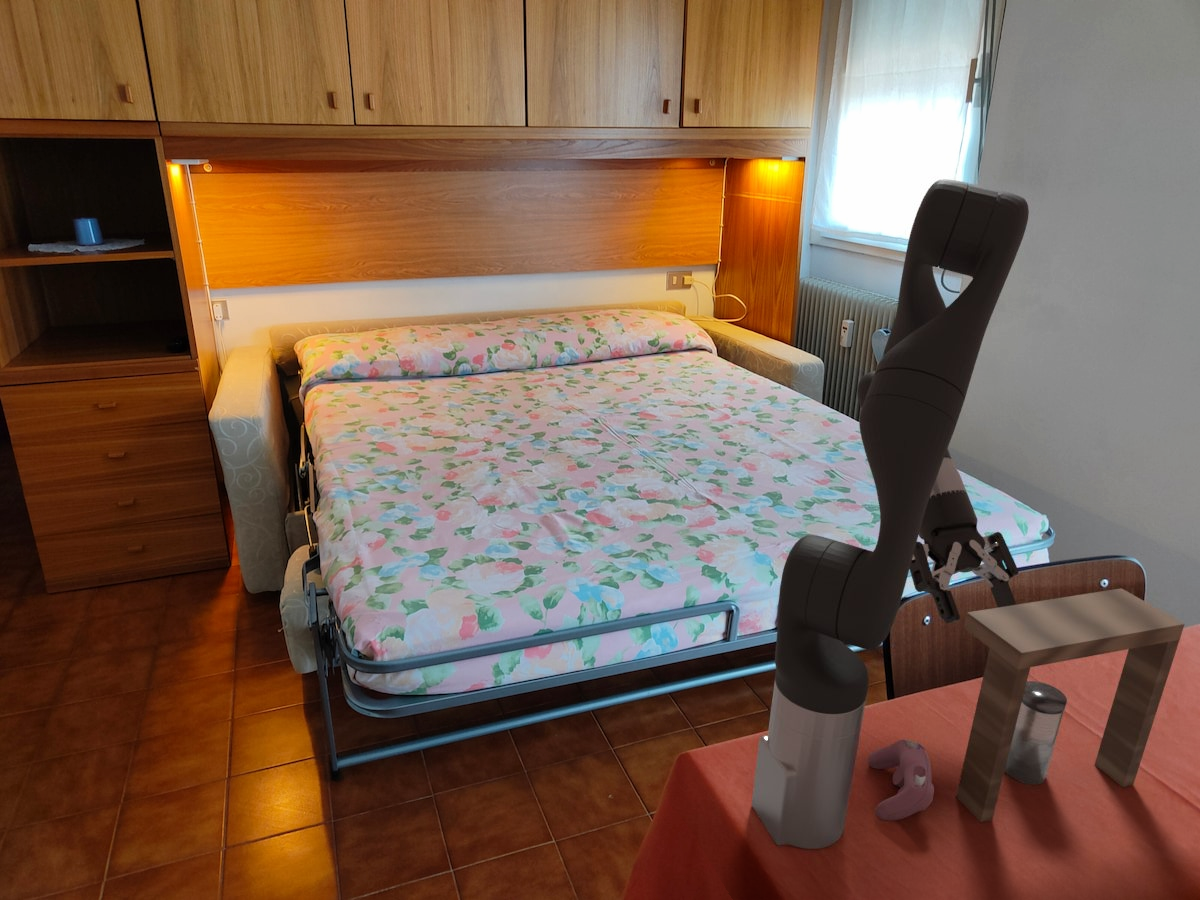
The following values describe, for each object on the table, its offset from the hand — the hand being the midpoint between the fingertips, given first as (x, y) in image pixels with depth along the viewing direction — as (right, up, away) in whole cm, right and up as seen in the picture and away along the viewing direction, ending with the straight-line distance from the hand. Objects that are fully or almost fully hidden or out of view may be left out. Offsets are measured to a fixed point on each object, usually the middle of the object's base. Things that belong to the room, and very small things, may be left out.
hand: (981, 617), depth 104 cm
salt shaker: (+3, -17, -5) cm, 18 cm away
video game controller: (-14, -19, -9) cm, 25 cm away
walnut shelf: (+3, -18, -6) cm, 19 cm away
